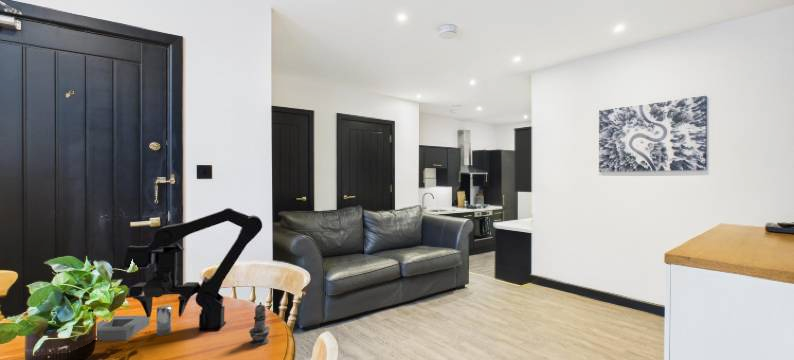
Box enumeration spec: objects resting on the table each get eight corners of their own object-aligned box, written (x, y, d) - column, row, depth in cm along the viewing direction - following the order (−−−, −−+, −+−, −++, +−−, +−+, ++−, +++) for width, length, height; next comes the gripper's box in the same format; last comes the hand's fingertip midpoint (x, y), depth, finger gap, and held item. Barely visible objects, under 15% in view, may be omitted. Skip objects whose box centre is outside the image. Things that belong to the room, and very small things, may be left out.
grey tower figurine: (262, 336, 113) (263, 297, 113) (273, 341, 110) (274, 301, 110) (244, 342, 108) (245, 302, 108) (256, 348, 105) (257, 306, 105)
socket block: (149, 324, 120) (149, 315, 120) (126, 340, 108) (126, 330, 108) (110, 325, 119) (110, 315, 119) (82, 341, 107) (82, 330, 107)
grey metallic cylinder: (173, 330, 116) (174, 305, 116) (167, 335, 112) (167, 309, 112) (160, 330, 115) (161, 305, 115) (153, 335, 111) (154, 309, 111)
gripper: (116, 273, 105) (115, 327, 105) (185, 272, 107) (183, 326, 107) (140, 264, 116) (138, 313, 116) (201, 264, 118) (200, 312, 118)
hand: (164, 316), depth 114 cm, fingers open, 9 cm apart
